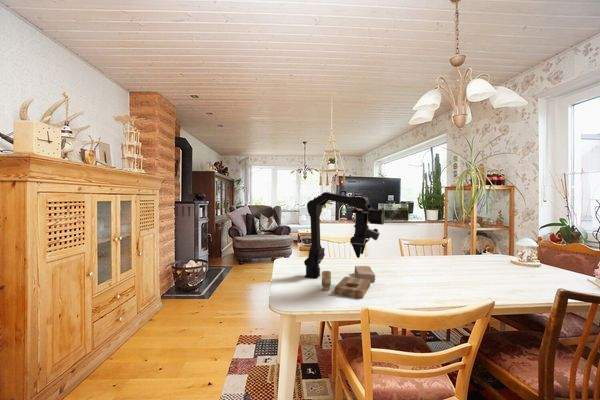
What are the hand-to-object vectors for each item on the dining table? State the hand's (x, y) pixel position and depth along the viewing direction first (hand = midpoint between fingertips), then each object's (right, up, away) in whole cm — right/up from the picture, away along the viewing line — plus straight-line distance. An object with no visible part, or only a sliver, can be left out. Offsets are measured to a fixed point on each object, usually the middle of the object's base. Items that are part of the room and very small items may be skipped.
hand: (360, 255), depth 135 cm
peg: (-17, -14, -8) cm, 23 cm away
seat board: (-5, -14, -7) cm, 16 cm away
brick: (+5, -14, +12) cm, 19 cm away
